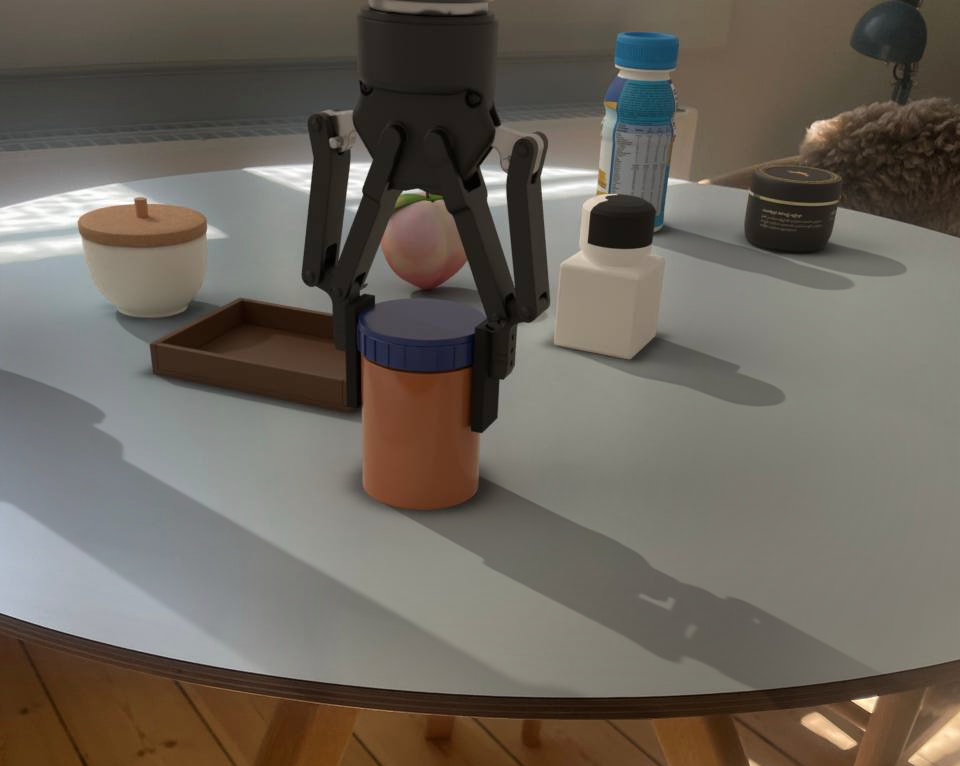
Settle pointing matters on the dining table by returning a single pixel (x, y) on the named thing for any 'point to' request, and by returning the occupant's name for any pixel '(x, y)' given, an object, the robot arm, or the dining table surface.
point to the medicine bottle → (611, 280)
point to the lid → (418, 334)
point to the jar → (791, 208)
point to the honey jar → (418, 436)
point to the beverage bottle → (640, 120)
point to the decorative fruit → (423, 241)
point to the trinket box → (146, 256)
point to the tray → (259, 353)
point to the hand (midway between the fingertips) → (421, 411)
